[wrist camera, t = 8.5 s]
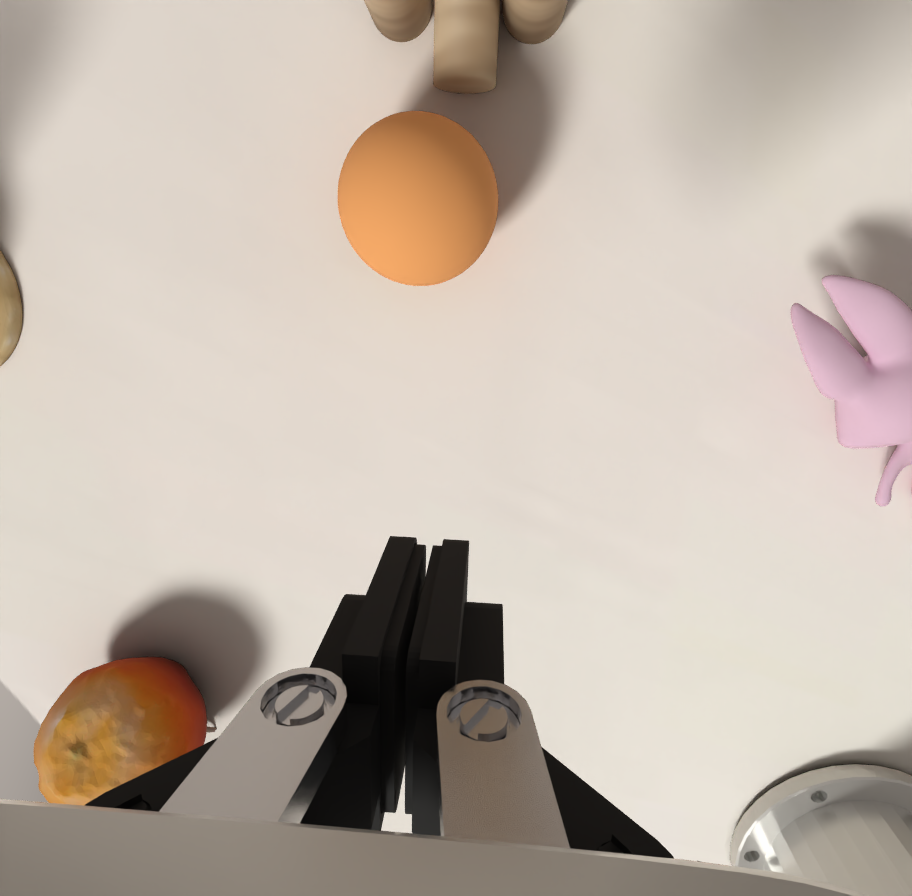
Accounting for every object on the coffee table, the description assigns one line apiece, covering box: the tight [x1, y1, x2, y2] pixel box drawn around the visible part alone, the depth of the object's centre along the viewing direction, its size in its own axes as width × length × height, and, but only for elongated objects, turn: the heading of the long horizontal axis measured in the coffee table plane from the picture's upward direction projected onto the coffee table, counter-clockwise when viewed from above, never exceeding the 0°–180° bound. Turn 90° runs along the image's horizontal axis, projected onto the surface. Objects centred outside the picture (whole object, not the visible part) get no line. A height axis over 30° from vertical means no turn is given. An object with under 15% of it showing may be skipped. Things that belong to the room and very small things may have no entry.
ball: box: [338, 111, 498, 286], centre depth 21 cm, size 6×6×6 cm
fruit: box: [34, 657, 217, 806], centre depth 30 cm, size 8×8×8 cm
